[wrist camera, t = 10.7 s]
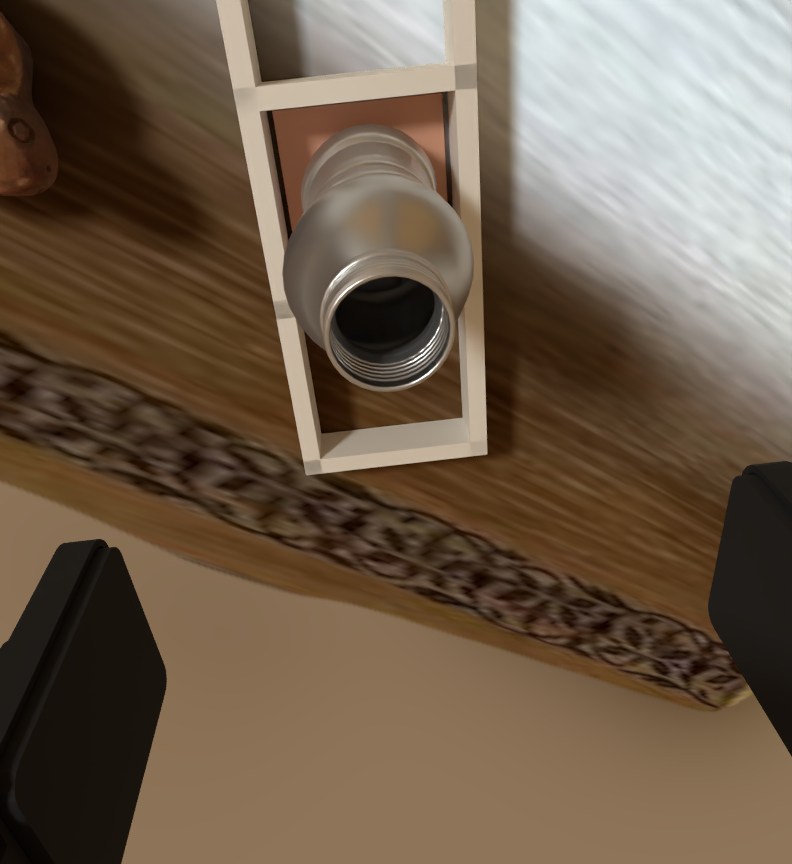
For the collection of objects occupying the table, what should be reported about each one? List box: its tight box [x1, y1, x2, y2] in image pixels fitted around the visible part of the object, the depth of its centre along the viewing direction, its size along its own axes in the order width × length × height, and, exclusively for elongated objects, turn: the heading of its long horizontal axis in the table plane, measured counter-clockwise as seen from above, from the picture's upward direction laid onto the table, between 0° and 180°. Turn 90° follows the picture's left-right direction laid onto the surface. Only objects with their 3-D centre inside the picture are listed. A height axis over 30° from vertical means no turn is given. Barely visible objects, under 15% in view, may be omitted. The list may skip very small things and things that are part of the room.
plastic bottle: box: [282, 124, 474, 392], centre depth 28 cm, size 6×7×20 cm
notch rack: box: [216, 0, 487, 475], centre depth 35 cm, size 31×11×3 cm, turn 5°
